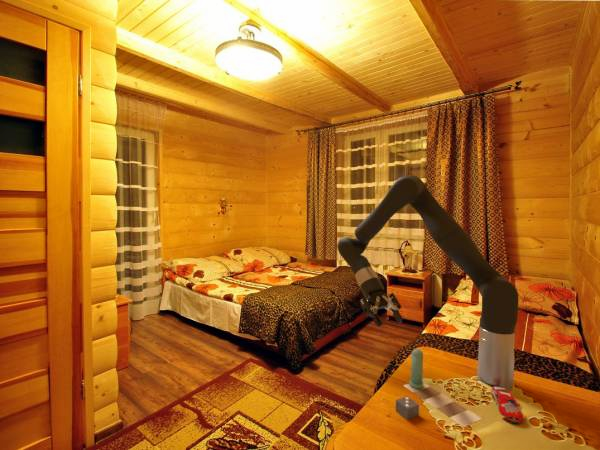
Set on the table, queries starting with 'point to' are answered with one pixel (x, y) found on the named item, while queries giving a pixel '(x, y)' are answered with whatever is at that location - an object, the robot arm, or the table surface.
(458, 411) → the board
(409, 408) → the die
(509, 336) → the robot arm
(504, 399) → the race car
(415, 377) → the pawn
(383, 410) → the table surface
